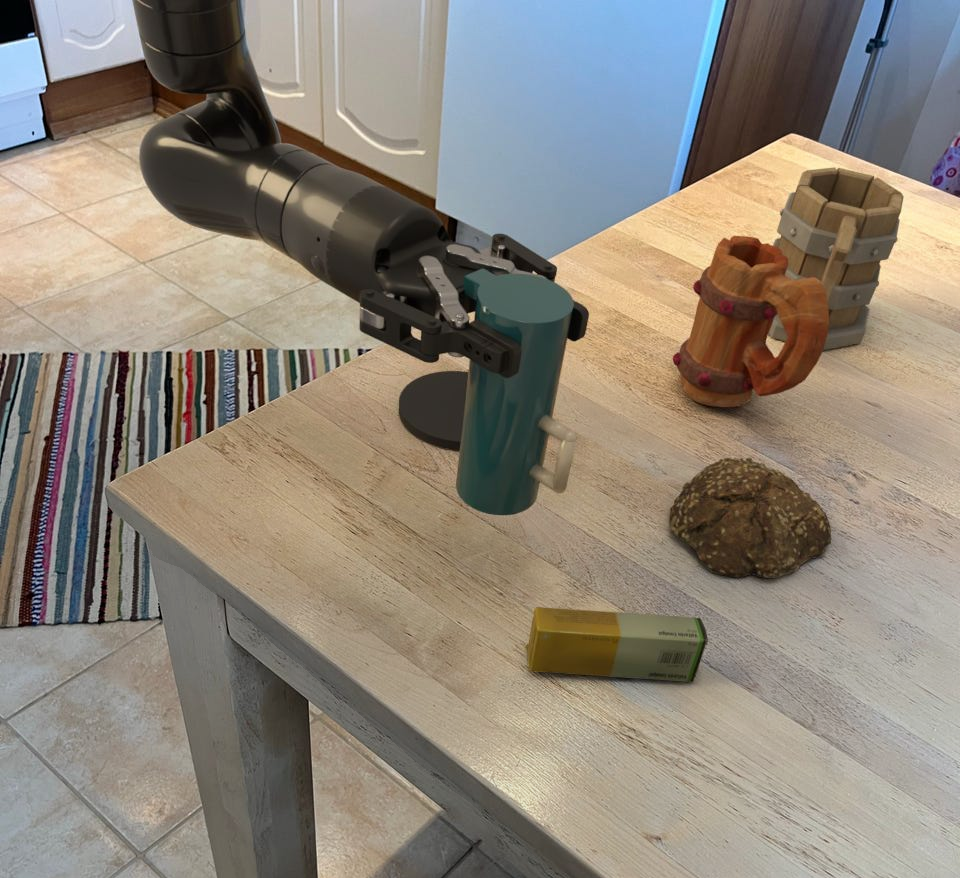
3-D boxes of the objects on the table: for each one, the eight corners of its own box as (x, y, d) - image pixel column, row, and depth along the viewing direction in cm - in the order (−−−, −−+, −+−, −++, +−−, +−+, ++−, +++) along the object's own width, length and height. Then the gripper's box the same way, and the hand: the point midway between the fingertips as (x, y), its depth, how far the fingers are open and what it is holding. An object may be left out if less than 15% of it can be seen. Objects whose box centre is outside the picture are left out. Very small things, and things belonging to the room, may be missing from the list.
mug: (649, 374, 96) (687, 224, 85) (715, 360, 99) (760, 213, 88) (740, 461, 88) (795, 307, 77) (809, 442, 91) (871, 291, 80)
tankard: (756, 279, 112) (800, 142, 101) (866, 307, 110) (923, 170, 99) (724, 363, 99) (770, 216, 88) (849, 397, 97) (912, 251, 86)
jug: (424, 475, 71) (440, 282, 60) (480, 444, 75) (505, 255, 64) (528, 547, 67) (565, 353, 56) (582, 510, 71) (627, 321, 60)
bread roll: (729, 465, 87) (745, 418, 84) (845, 540, 82) (868, 493, 78) (635, 521, 81) (648, 472, 77) (754, 606, 75) (775, 559, 72)
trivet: (383, 435, 86) (383, 426, 85) (416, 370, 93) (416, 361, 92) (506, 462, 85) (507, 452, 84) (529, 393, 92) (530, 384, 91)
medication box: (688, 657, 71) (703, 615, 68) (696, 683, 69) (711, 641, 66) (525, 647, 70) (533, 603, 67) (527, 673, 68) (536, 629, 65)
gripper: (280, 214, 61) (481, 328, 54) (439, 159, 69) (631, 252, 62) (285, 324, 66) (468, 439, 60) (432, 261, 74) (608, 357, 68)
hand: (550, 343), depth 61 cm, fingers closed on jug, 6 cm apart
